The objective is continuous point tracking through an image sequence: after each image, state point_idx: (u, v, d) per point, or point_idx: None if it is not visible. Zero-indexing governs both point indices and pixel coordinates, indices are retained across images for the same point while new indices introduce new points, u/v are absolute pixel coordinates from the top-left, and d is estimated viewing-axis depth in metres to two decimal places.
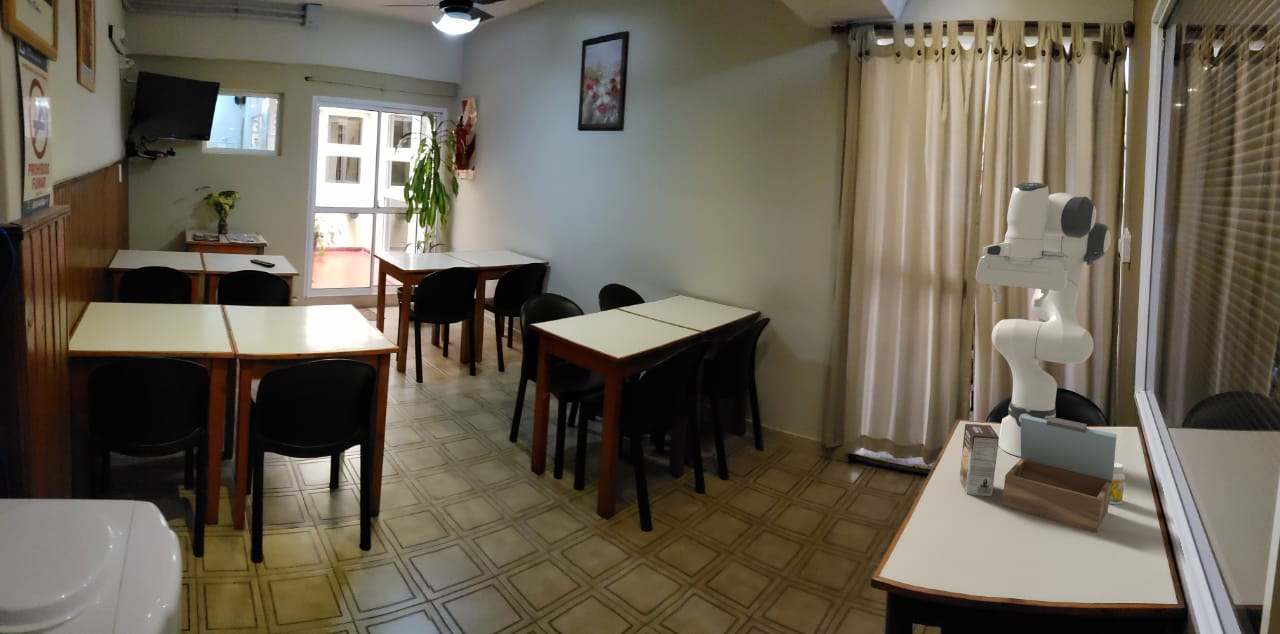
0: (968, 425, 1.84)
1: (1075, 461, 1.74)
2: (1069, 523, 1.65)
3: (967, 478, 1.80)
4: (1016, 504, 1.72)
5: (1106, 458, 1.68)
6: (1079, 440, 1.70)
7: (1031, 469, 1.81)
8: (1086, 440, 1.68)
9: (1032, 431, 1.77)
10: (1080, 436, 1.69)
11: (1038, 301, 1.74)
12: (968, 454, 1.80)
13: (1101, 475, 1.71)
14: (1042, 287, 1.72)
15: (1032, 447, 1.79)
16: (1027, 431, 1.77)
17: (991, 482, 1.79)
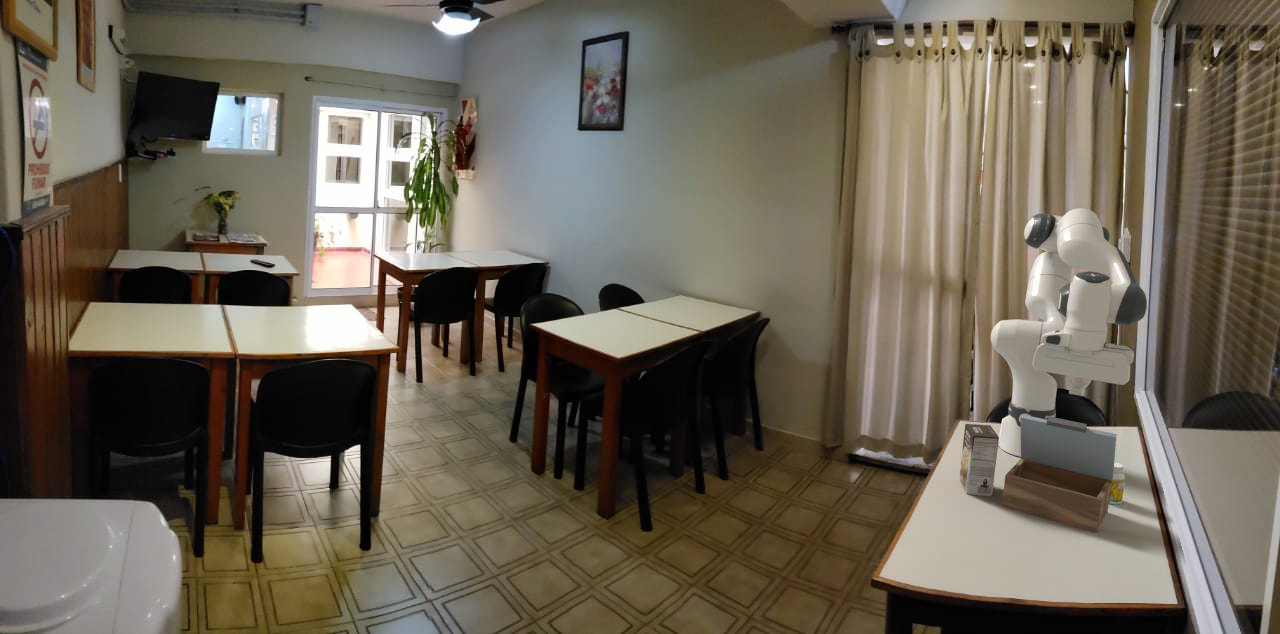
0: (968, 425, 1.84)
1: (1075, 461, 1.74)
2: (1069, 523, 1.65)
3: (967, 478, 1.80)
4: (1016, 504, 1.72)
5: (1106, 458, 1.68)
6: (1079, 440, 1.70)
7: (1031, 469, 1.81)
8: (1086, 440, 1.68)
9: (1032, 431, 1.77)
10: (1080, 436, 1.69)
11: (1080, 390, 1.73)
12: (968, 454, 1.80)
13: (1101, 475, 1.71)
14: (1104, 380, 1.68)
15: (1032, 447, 1.79)
16: (1027, 431, 1.77)
17: (991, 482, 1.79)
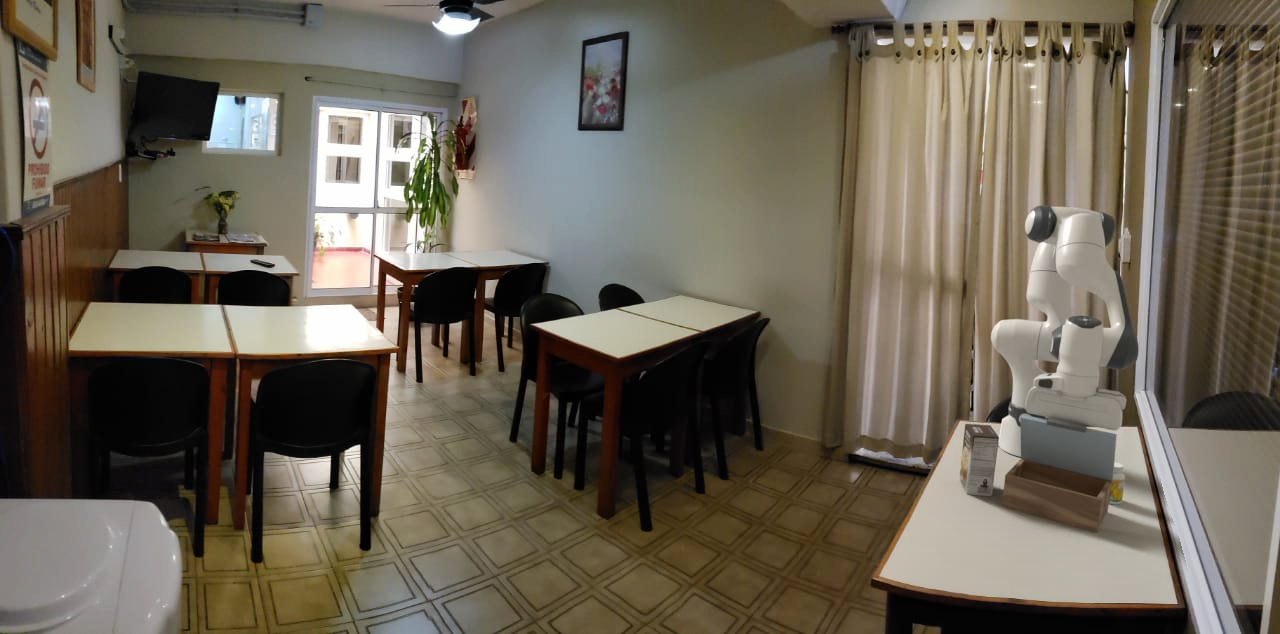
0: (968, 425, 1.84)
1: (1075, 461, 1.74)
2: (1069, 523, 1.65)
3: (967, 478, 1.80)
4: (1016, 504, 1.72)
5: (1106, 458, 1.68)
6: (1079, 440, 1.70)
7: (1031, 469, 1.81)
8: (1086, 440, 1.68)
9: (1032, 431, 1.77)
10: (1080, 436, 1.69)
11: None
12: (968, 454, 1.80)
13: (1101, 475, 1.71)
14: (1096, 425, 1.68)
15: (1032, 447, 1.79)
16: (1027, 431, 1.77)
17: (991, 482, 1.79)
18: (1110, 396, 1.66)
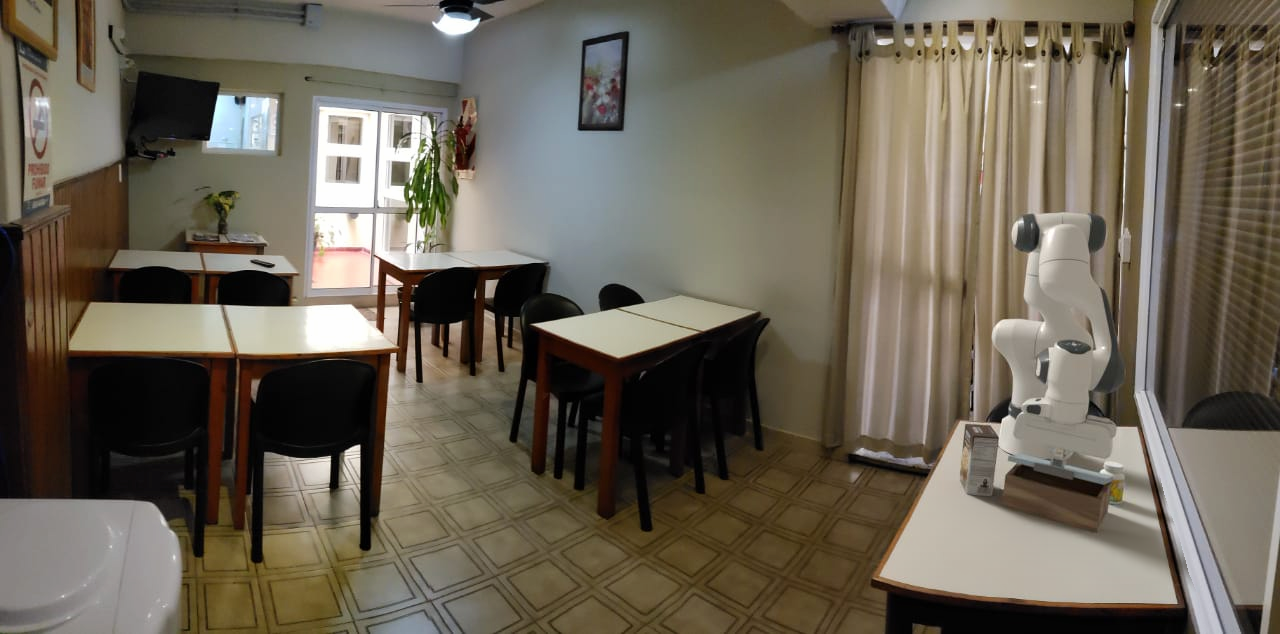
0: (968, 425, 1.84)
1: None
2: (1069, 523, 1.65)
3: (967, 478, 1.80)
4: (1016, 504, 1.72)
5: None
6: None
7: (1031, 469, 1.81)
8: None
9: None
10: None
11: (1062, 461, 1.67)
12: (968, 454, 1.80)
13: None
14: (1086, 453, 1.63)
15: None
16: None
17: (991, 482, 1.79)
18: (1100, 423, 1.61)
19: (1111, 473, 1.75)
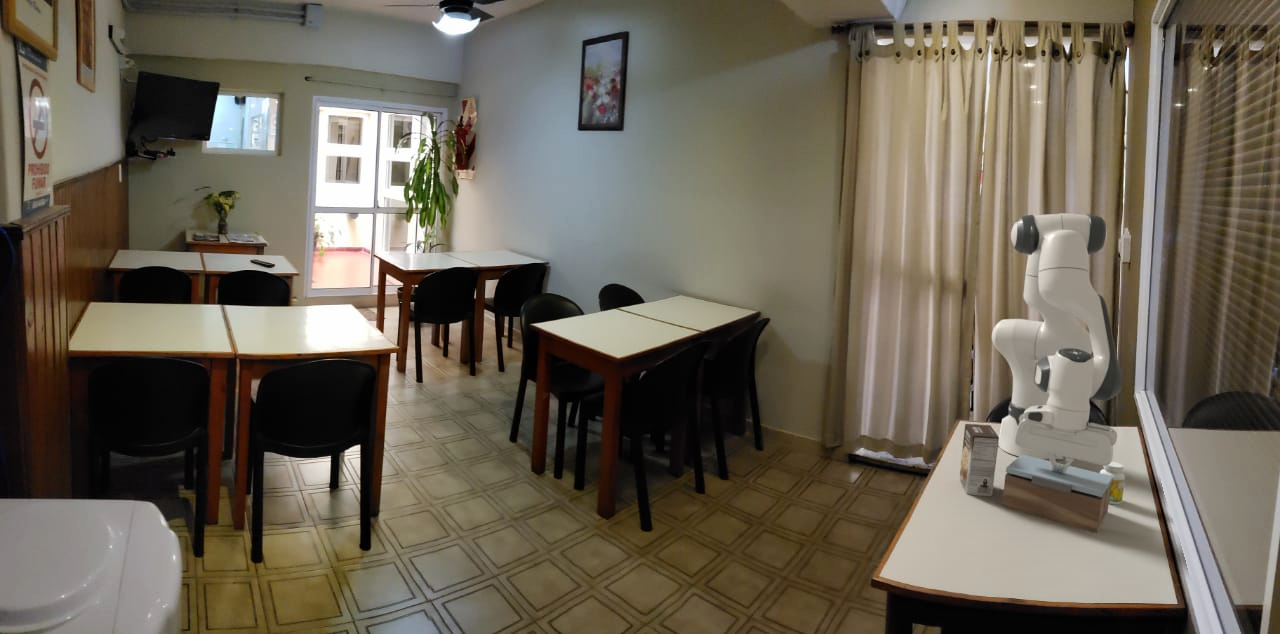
0: (968, 425, 1.84)
1: None
2: (1069, 523, 1.65)
3: (967, 478, 1.80)
4: (1016, 504, 1.72)
5: None
6: None
7: None
8: None
9: None
10: None
11: (1063, 468, 1.69)
12: (968, 454, 1.80)
13: None
14: (1087, 460, 1.65)
15: None
16: None
17: (991, 482, 1.79)
18: (1100, 431, 1.64)
19: (1111, 473, 1.75)
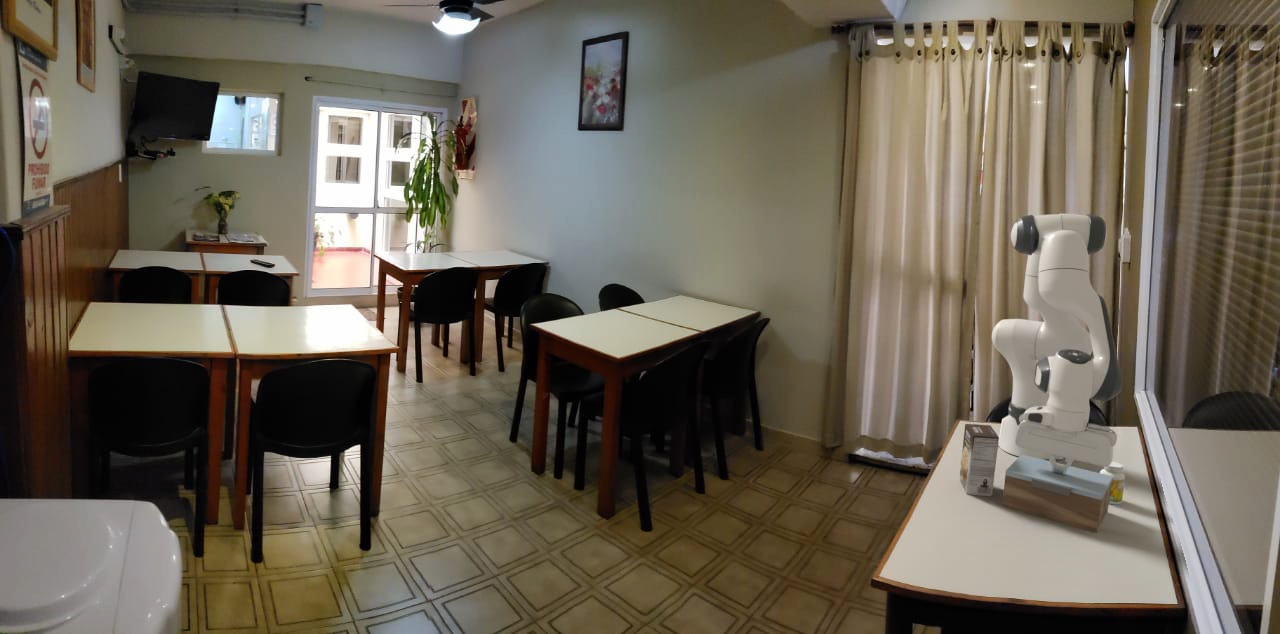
0: (968, 425, 1.84)
1: None
2: (1069, 523, 1.65)
3: (967, 478, 1.80)
4: (1016, 504, 1.72)
5: None
6: None
7: None
8: None
9: None
10: None
11: (1063, 469, 1.70)
12: (968, 454, 1.80)
13: None
14: (1087, 461, 1.65)
15: None
16: None
17: (991, 482, 1.79)
18: (1100, 432, 1.64)
19: (1111, 473, 1.75)
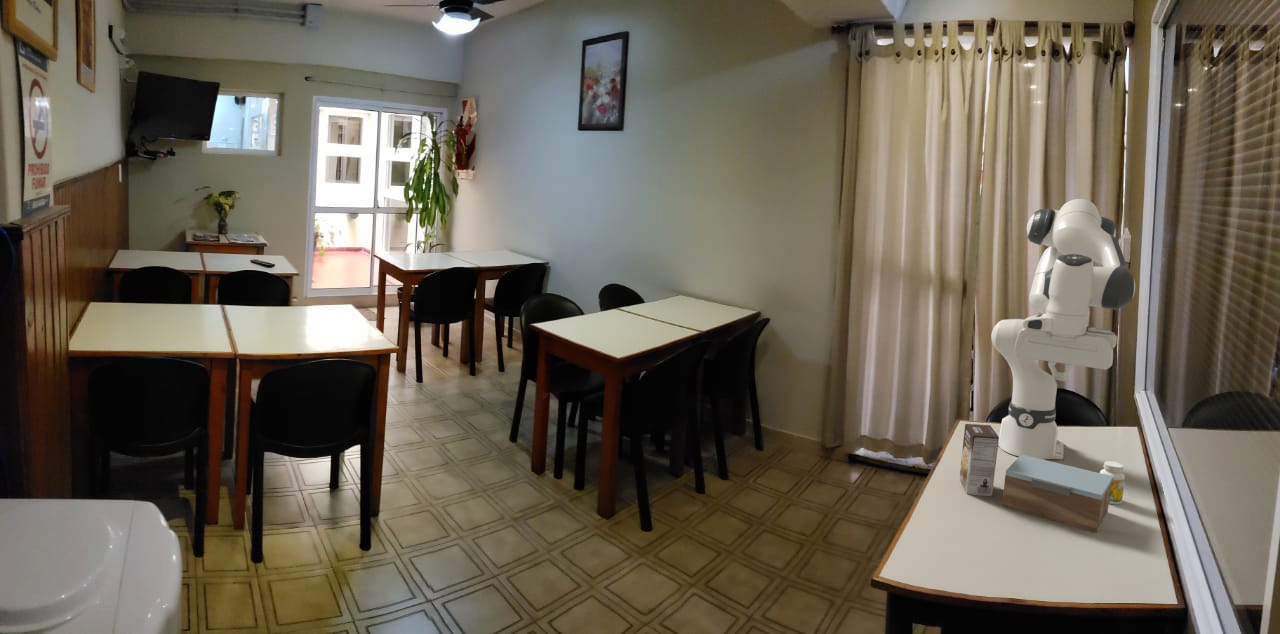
0: (968, 425, 1.84)
1: None
2: (1069, 523, 1.65)
3: (967, 478, 1.80)
4: (1016, 504, 1.72)
5: None
6: None
7: None
8: None
9: None
10: None
11: (1063, 375, 1.69)
12: (968, 454, 1.80)
13: None
14: (1087, 365, 1.65)
15: None
16: None
17: (991, 482, 1.79)
18: (1100, 335, 1.63)
19: (1111, 473, 1.75)
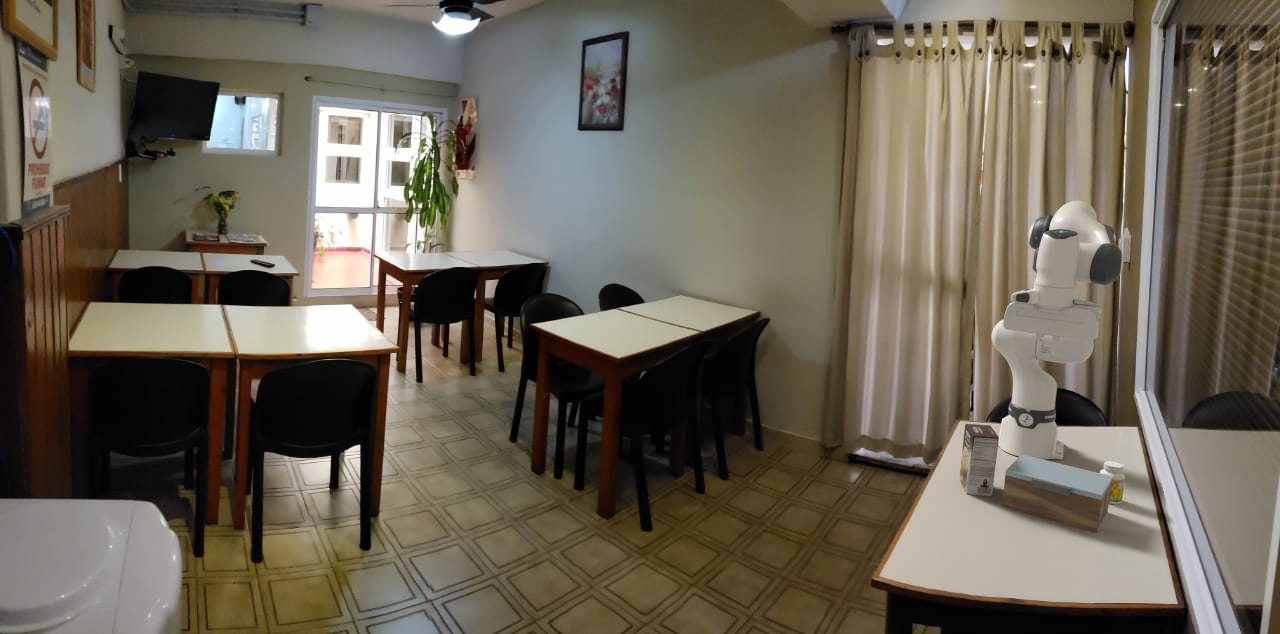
0: (968, 425, 1.84)
1: None
2: (1069, 523, 1.65)
3: (967, 478, 1.80)
4: (1016, 504, 1.72)
5: None
6: None
7: None
8: None
9: None
10: None
11: (1050, 348, 1.73)
12: (968, 454, 1.80)
13: None
14: (1073, 337, 1.68)
15: None
16: None
17: (991, 482, 1.79)
18: (1086, 307, 1.67)
19: (1111, 473, 1.75)
